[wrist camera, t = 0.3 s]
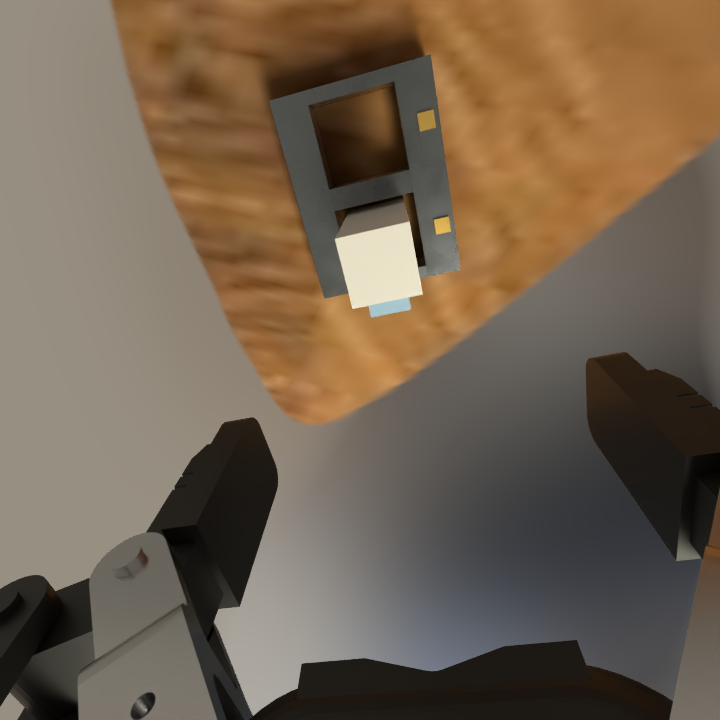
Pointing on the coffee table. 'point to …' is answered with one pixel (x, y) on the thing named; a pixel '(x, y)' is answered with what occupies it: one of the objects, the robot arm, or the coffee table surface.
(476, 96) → the coffee table surface
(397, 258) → the plug
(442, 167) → the panel
